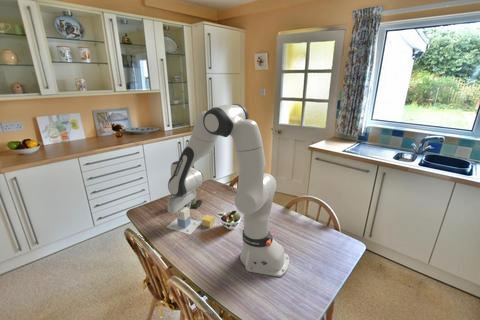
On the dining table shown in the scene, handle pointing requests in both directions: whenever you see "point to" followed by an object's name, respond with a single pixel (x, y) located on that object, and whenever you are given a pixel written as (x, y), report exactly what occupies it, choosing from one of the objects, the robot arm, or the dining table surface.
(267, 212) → the robot arm
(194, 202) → the figurine
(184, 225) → the block
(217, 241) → the dining table surface
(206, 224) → the block
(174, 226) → the build plate
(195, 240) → the dining table surface
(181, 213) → the block
